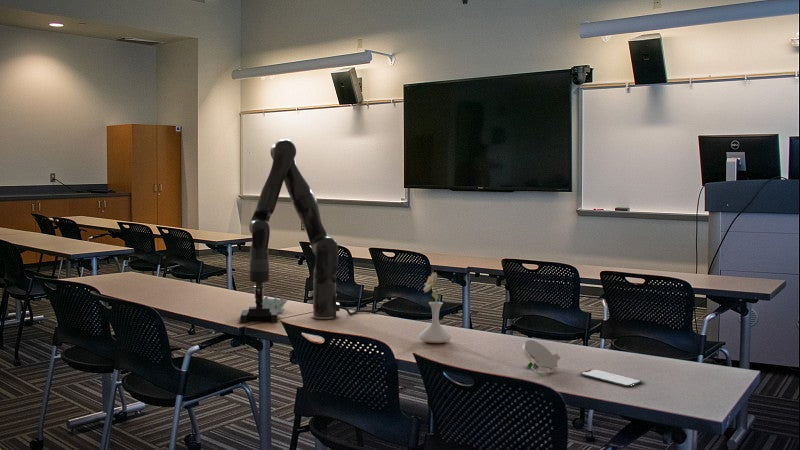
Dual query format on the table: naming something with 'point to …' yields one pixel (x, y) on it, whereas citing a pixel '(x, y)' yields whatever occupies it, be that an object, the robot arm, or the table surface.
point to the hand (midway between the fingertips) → (259, 312)
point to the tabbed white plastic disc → (539, 357)
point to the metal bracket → (274, 304)
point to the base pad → (246, 317)
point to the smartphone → (611, 377)
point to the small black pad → (264, 313)
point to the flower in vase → (434, 318)
